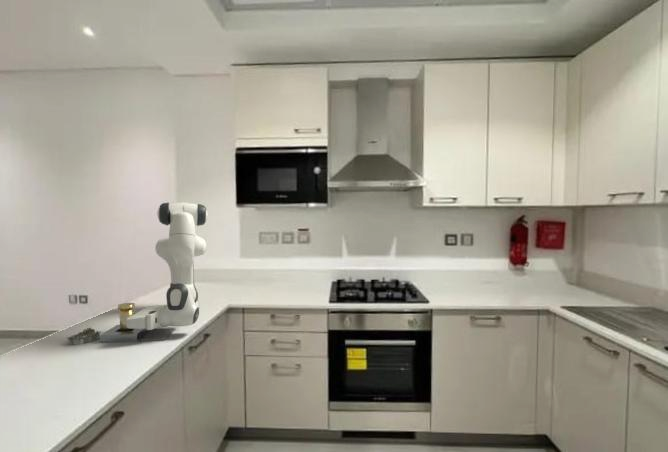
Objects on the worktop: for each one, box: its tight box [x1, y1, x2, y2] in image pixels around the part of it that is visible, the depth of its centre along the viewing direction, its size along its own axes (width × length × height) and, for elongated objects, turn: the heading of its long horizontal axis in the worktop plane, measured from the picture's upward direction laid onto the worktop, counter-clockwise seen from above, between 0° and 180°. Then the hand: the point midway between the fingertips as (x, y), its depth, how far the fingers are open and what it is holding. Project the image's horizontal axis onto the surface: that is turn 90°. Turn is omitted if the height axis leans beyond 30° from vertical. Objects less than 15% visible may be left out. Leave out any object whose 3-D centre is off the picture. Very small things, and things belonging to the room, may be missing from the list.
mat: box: [140, 327, 176, 342], centre depth 156 cm, size 14×9×1 cm, turn 6°
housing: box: [99, 324, 152, 343], centre depth 155 cm, size 14×14×3 cm
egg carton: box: [65, 327, 101, 346], centre depth 150 cm, size 11×8×4 cm
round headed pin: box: [117, 302, 136, 332], centre depth 155 cm, size 6×6×14 cm
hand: (124, 317), depth 155 cm, fingers closed on round headed pin, 5 cm apart
